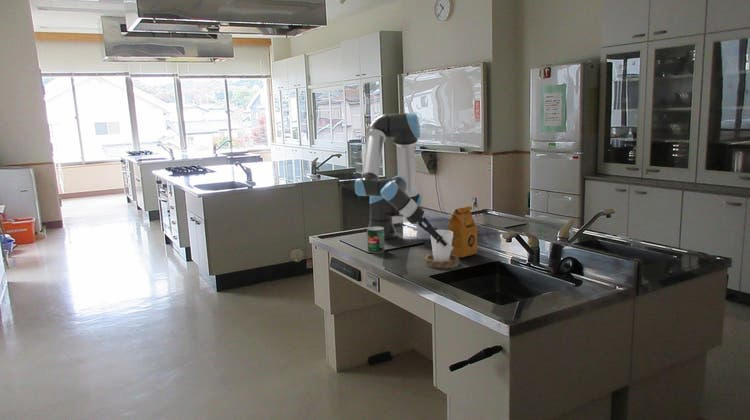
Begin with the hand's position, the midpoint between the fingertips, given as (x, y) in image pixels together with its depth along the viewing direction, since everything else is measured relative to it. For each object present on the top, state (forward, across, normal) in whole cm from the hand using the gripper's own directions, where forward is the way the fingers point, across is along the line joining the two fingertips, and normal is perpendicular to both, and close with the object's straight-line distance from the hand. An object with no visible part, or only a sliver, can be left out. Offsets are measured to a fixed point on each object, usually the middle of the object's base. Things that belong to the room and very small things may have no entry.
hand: (448, 246), depth 227 cm
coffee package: (+12, -12, +1) cm, 17 cm away
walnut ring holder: (+3, 0, -7) cm, 8 cm away
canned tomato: (-15, -25, -26) cm, 39 cm away
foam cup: (+3, 0, -7) cm, 7 cm away
